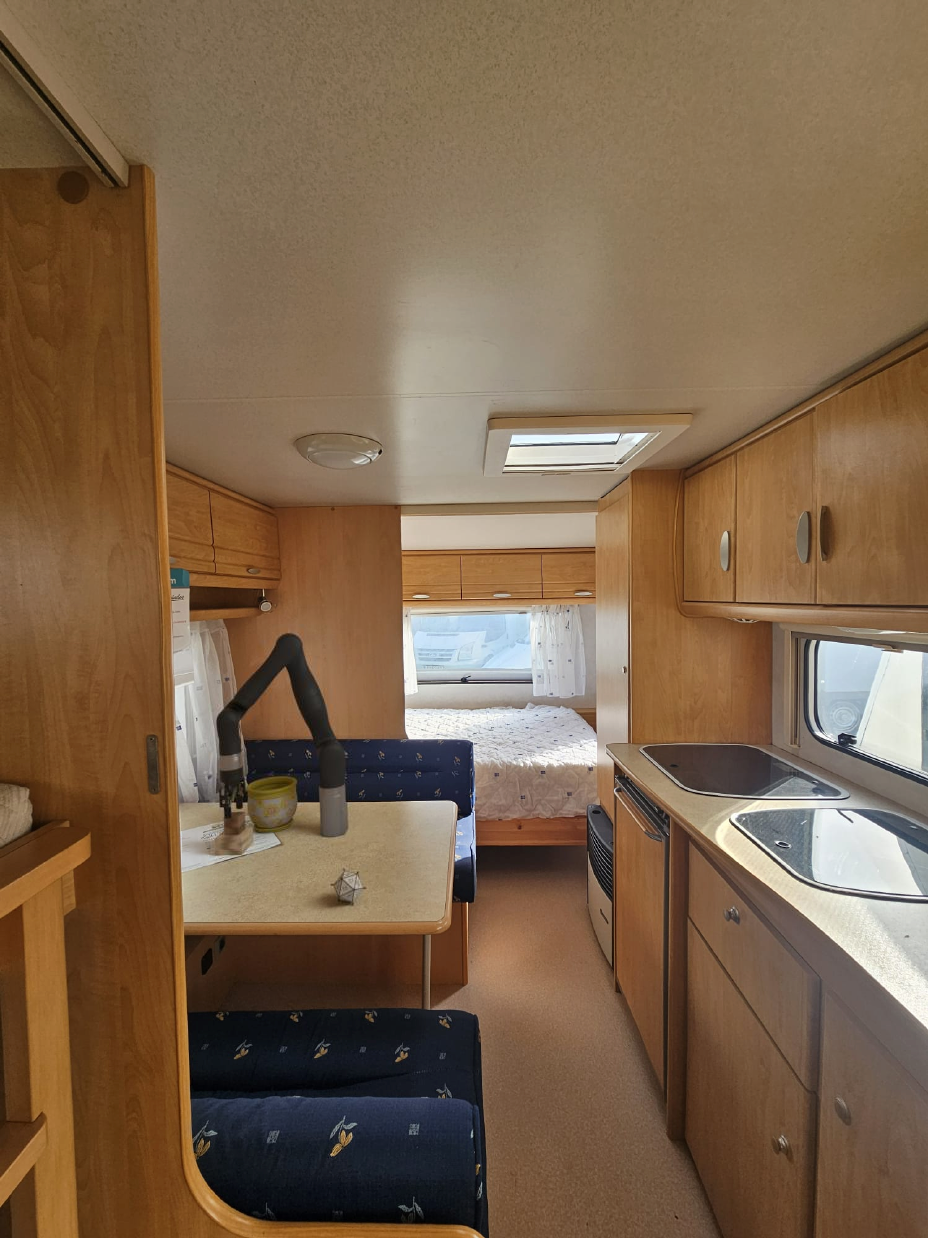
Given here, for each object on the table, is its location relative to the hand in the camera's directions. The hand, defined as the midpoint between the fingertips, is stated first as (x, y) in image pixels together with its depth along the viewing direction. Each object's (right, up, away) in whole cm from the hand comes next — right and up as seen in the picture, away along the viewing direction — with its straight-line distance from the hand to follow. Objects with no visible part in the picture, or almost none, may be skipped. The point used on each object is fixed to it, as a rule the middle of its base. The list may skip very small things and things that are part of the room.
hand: (234, 813), depth 179 cm
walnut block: (0, -7, 0) cm, 7 cm away
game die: (+48, -11, -36) cm, 61 cm away
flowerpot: (+7, -12, +19) cm, 23 cm away
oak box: (0, -13, 0) cm, 13 cm away
